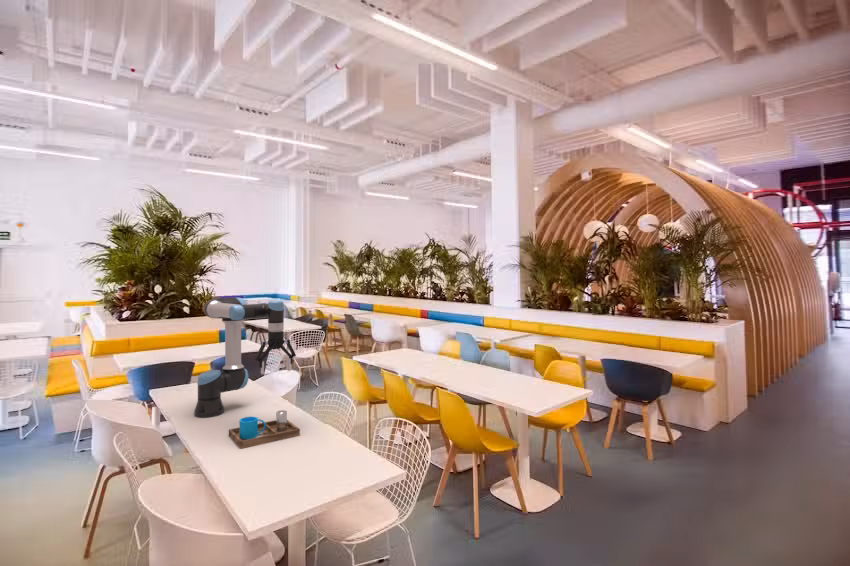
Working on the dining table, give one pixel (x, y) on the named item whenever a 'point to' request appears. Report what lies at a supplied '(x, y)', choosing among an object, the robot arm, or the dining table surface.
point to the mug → (249, 427)
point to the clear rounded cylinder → (281, 420)
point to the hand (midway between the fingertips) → (275, 372)
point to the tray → (264, 434)
